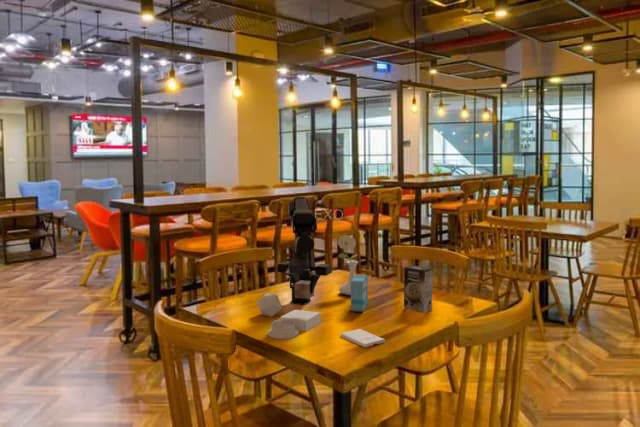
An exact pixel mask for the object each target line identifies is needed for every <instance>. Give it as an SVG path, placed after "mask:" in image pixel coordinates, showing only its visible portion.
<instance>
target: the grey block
mask: <svg viewBox="0 0 640 427" xmlns="http://www.w3.org/2000/svg"><path fill="white" fill-rule="evenodd" d="M281 319H288V320H289V319H290V320H292V321H294V323H295V328H297V329H298V331H304V332H307V331H309V330H310V329H313V328H315V327H316V326H318V325H320V323H321V313H320V312H315V311H308V310H301V309H294V310H292V311H289V312H288V313H285V314H284V315H281V316H280V320H281Z"/></svg>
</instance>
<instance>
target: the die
mask: <svg viewBox="0 0 640 427" xmlns="http://www.w3.org/2000/svg"><path fill="white" fill-rule="evenodd" d="M256 303H257V306H258V308H259V311H260V314H261V315H262V316H266V317H270V318H272V317H274V316H275V315H277V313H278V312H280V310H282V309H283V305H282V303H281V302H280V298H279V297H278V294H275V293H269V292H266V293H265V294H263V296H262V297H260V298H259V300H258V301H256Z"/></svg>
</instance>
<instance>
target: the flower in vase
mask: <svg viewBox="0 0 640 427" xmlns="http://www.w3.org/2000/svg"><path fill="white" fill-rule="evenodd" d="M336 243H337V245H338V246H339V248H341V250H342V249H343V250H345V253H342V252H341V253H339V254H338V255H337V258H341V259H346V257H347V259H348V260H347V261H346V264H347V265H348V270H349V271H348V272H349V278H348V280H346V282H345V283H342V285H341V286H340V287H339V289H338V291H339V293H341V294H343V295H346V296H351V280H352V279H353V278H354V277H355V275H356V267H357V265H358V263H359V261H357V260H351V259H354V258H356V257H358V255H359V253H356V254H354V255H353V254H352V256H351V257H349V255H348V253H347V251H350V250H352V249H355V247H356V245H357V242H356V239H355V238H354V237H352V236H351V235H347V234H343V235H342V236H339V237H338V239H337V241H336Z"/></svg>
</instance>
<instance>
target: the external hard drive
mask: <svg viewBox="0 0 640 427" xmlns="http://www.w3.org/2000/svg"><path fill="white" fill-rule="evenodd" d="M340 338H342V339H345V340H347V341H350V342H352V343H354V344H356V345H358V346H361V347H363V348H367V347H372V346H374V345H379V344H380V345H381V344H384V343H385V342H386V339H385V338H382V337H380V336H377V335H375V334H373V333H370V332H368V331H367V330H363V329H361V328H358V329H354V330H350V331H345V332H340Z"/></svg>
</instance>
